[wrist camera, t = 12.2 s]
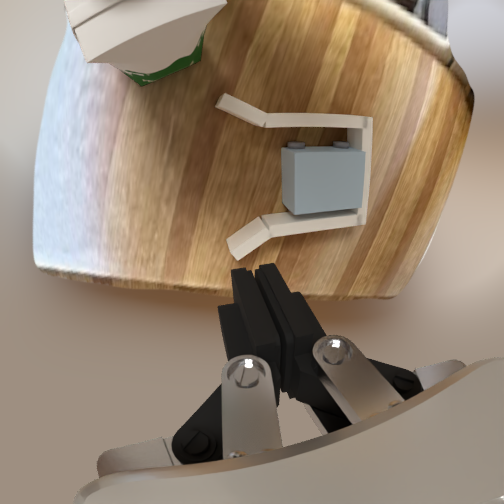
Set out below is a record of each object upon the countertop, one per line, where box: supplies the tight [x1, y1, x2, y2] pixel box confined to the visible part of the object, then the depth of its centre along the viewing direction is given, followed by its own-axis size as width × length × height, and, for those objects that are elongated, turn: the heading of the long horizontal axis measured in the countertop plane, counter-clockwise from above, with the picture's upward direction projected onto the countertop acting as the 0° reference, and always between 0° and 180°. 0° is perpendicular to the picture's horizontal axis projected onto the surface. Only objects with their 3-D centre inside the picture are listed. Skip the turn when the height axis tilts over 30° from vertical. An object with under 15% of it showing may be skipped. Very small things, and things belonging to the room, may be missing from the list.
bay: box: [215, 93, 373, 261], centre depth 32 cm, size 19×18×4 cm
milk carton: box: [64, 0, 227, 86], centre depth 14 cm, size 9×9×20 cm
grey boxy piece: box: [281, 141, 366, 215], centre depth 32 cm, size 8×9×4 cm
